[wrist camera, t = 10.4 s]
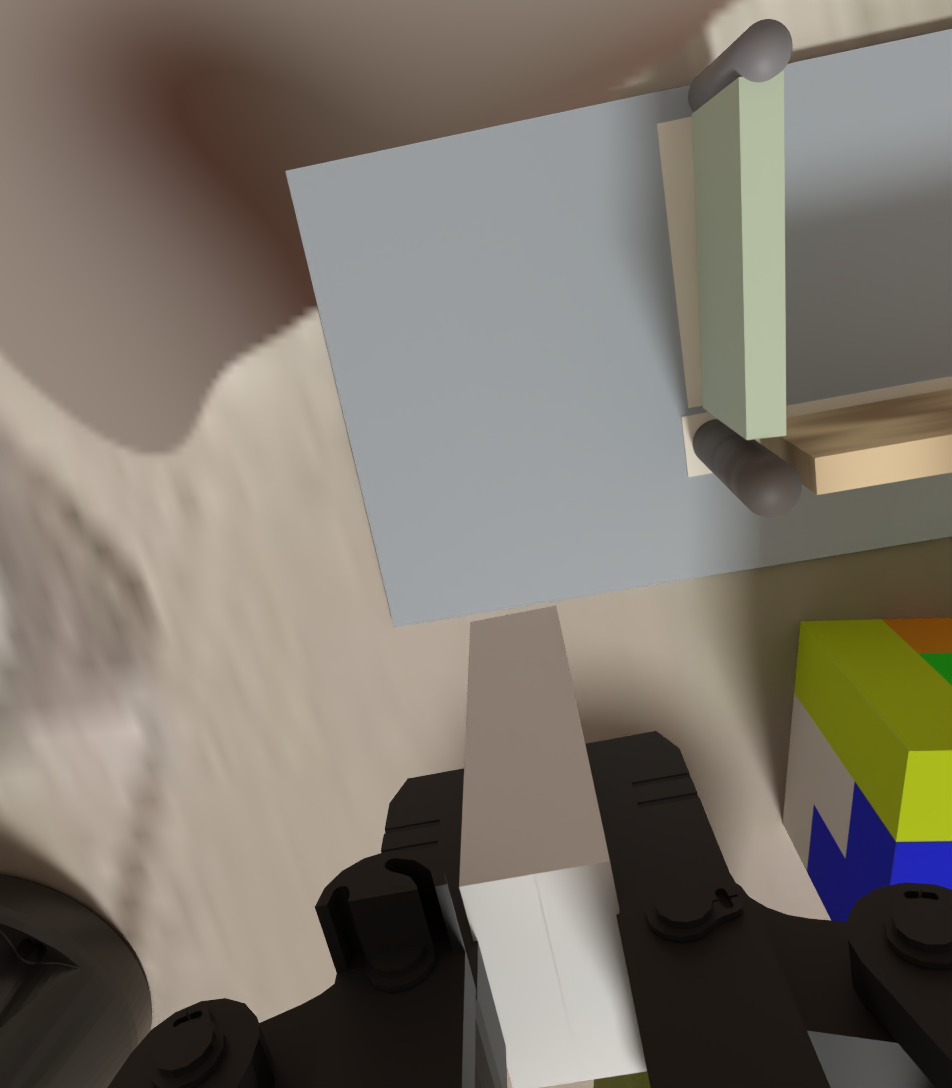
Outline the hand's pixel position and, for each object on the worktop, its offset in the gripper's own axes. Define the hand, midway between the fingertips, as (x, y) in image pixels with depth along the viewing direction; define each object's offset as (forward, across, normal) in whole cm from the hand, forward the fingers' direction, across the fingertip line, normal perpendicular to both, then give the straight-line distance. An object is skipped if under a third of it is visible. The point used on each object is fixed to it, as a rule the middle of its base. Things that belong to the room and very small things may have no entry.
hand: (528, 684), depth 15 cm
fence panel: (+18, +9, +6) cm, 21 cm away
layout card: (+20, +8, +2) cm, 21 cm away
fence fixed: (+19, +15, -1) cm, 24 cm away
